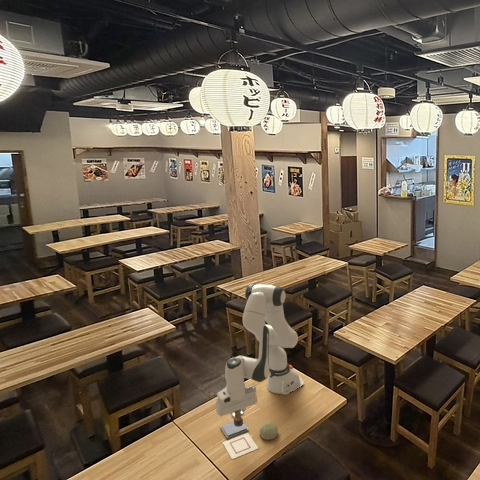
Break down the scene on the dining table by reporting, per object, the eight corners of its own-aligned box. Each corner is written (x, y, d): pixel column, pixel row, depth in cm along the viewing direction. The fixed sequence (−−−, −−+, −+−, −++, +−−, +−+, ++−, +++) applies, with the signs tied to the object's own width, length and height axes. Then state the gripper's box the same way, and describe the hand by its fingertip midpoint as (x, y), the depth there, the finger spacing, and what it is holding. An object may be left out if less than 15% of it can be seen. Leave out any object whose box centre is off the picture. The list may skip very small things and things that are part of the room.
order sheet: (247, 433, 205) (247, 432, 205) (258, 448, 194) (258, 448, 194) (222, 442, 199) (222, 442, 199) (231, 459, 189) (231, 458, 189)
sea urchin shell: (254, 429, 204) (264, 416, 205) (265, 434, 208) (274, 422, 209) (262, 441, 196) (272, 427, 197) (273, 446, 200) (283, 433, 200)
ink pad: (241, 420, 214) (241, 418, 214) (248, 431, 206) (248, 428, 206) (220, 428, 209) (220, 425, 209) (227, 439, 201) (226, 436, 201)
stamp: (240, 419, 196) (239, 403, 194) (244, 424, 192) (243, 408, 190) (232, 422, 194) (231, 406, 192) (236, 427, 190) (234, 411, 188)
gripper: (252, 381, 196) (254, 405, 199) (213, 394, 188) (216, 419, 191) (258, 388, 190) (260, 413, 194) (218, 402, 182) (220, 427, 186)
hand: (237, 416), depth 192 cm, fingers closed on stamp, 3 cm apart
